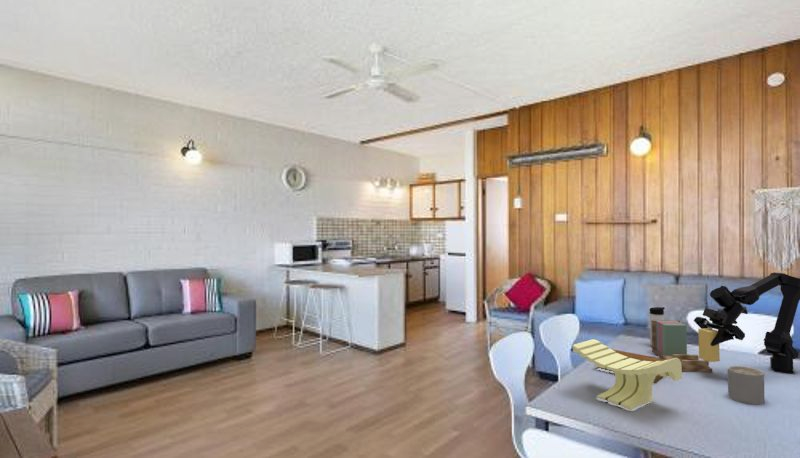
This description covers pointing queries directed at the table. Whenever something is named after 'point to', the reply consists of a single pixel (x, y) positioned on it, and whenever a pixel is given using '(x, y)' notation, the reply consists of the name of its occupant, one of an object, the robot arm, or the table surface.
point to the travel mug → (655, 317)
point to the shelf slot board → (680, 355)
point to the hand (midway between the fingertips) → (705, 343)
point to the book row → (671, 337)
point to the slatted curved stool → (628, 373)
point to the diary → (642, 358)
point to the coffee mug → (746, 384)
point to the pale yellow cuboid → (708, 345)
